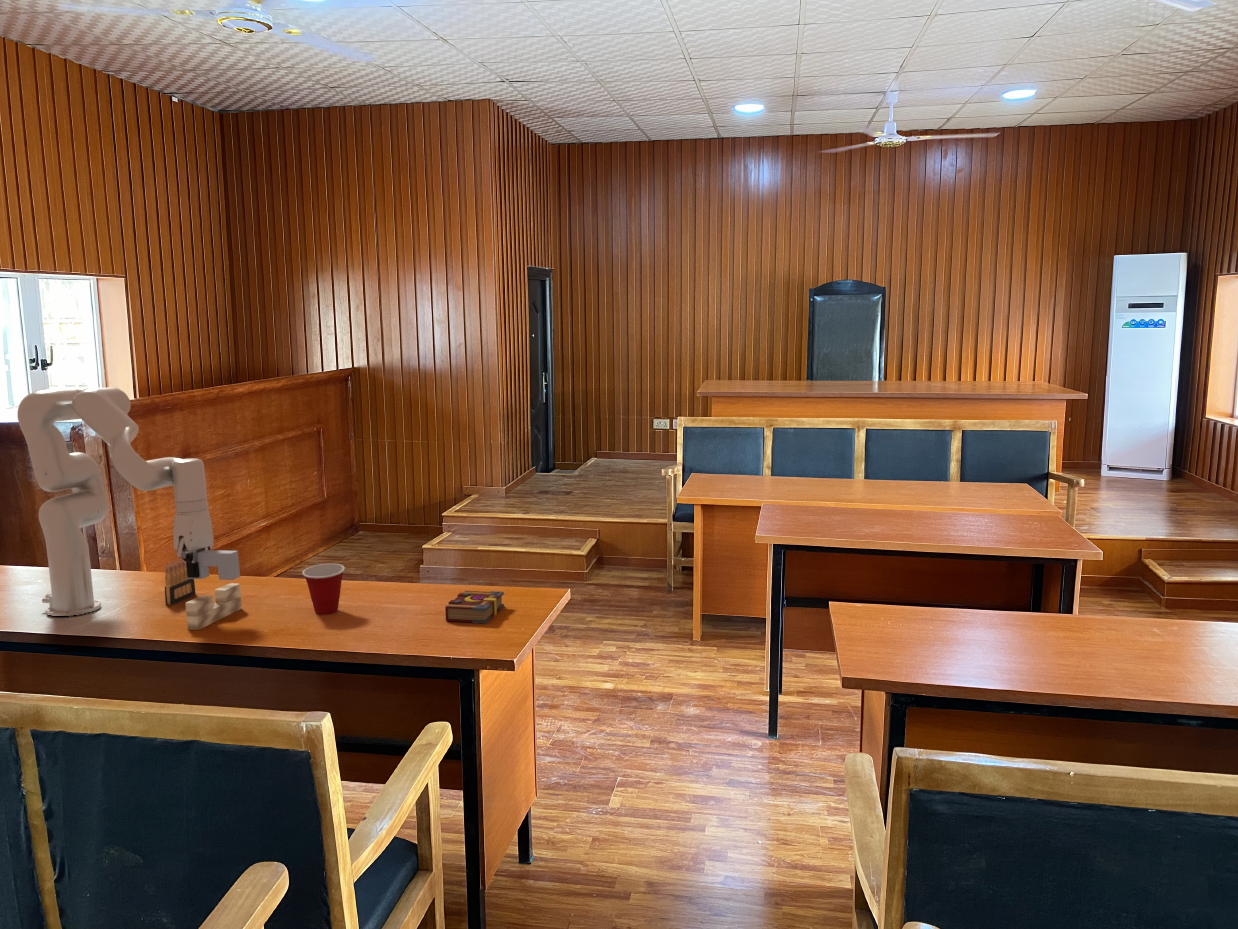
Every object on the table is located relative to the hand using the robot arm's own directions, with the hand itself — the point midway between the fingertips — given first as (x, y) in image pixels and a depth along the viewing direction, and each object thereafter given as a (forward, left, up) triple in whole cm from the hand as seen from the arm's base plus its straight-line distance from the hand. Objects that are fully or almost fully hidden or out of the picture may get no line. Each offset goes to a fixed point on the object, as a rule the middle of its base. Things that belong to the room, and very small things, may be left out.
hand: (198, 574), depth 228 cm
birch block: (+4, 0, -12) cm, 12 cm away
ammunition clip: (-17, +14, -12) cm, 25 cm away
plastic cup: (+30, +10, -12) cm, 34 cm away
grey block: (+5, 0, -1) cm, 5 cm away
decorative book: (+70, +15, -12) cm, 73 cm away
